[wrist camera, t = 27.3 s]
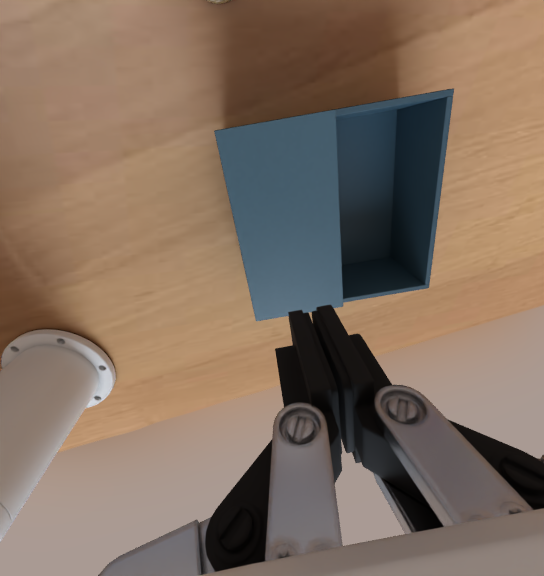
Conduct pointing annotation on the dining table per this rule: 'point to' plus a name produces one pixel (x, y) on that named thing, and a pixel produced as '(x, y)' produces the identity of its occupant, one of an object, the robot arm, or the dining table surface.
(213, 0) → the spice jar
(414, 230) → the carton
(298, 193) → the flap
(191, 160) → the dining table surface
